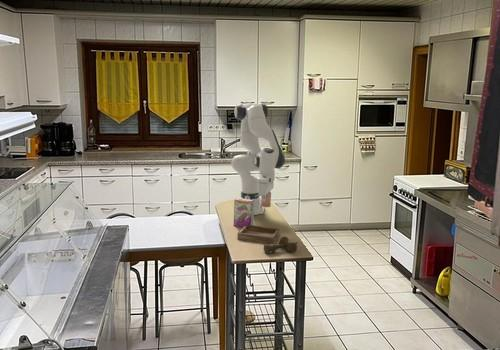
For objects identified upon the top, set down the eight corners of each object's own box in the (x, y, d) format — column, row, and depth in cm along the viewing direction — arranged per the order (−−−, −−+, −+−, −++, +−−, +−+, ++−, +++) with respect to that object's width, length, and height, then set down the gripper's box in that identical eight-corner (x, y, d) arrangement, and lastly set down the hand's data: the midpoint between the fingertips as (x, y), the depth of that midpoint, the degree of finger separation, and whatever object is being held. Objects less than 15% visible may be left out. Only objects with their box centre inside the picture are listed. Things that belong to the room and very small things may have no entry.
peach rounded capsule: (262, 204, 264) (262, 190, 262) (271, 205, 263) (272, 192, 261) (259, 206, 259) (260, 193, 257) (269, 207, 257) (269, 194, 256)
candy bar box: (233, 225, 269) (233, 199, 265) (236, 223, 274) (236, 197, 270) (250, 228, 265) (251, 201, 262) (253, 225, 270) (254, 199, 267)
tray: (246, 230, 262) (246, 224, 261) (279, 234, 256) (279, 228, 255) (237, 239, 247) (237, 233, 246) (272, 243, 241) (272, 237, 240)
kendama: (260, 251, 232) (292, 244, 241) (269, 258, 224) (302, 251, 233) (260, 240, 230) (293, 234, 240) (270, 247, 222) (303, 240, 231)
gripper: (266, 172, 267) (265, 194, 271) (256, 179, 248) (255, 203, 252) (276, 173, 266) (275, 195, 269) (267, 181, 247) (266, 205, 250)
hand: (265, 199), depth 260 cm, fingers closed on peach rounded capsule, 6 cm apart
